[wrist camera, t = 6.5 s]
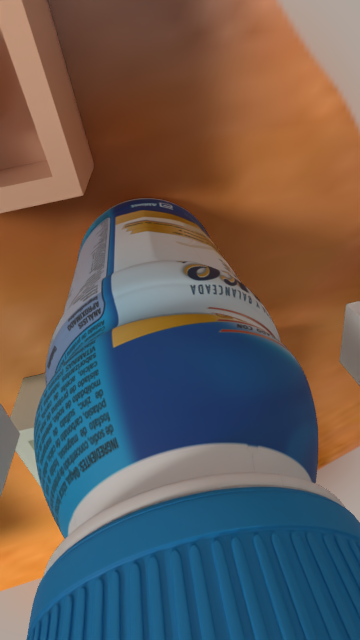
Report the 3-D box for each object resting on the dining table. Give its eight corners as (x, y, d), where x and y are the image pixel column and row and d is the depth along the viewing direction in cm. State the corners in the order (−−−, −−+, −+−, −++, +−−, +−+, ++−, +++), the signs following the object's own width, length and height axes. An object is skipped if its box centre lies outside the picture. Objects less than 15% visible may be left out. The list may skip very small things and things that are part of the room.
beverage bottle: (47, 232, 20) (-372, 1001, 3) (183, 166, 19) (716, 674, 2) (119, 339, 24) (122, 874, 7) (230, 289, 23) (516, 759, 7)
